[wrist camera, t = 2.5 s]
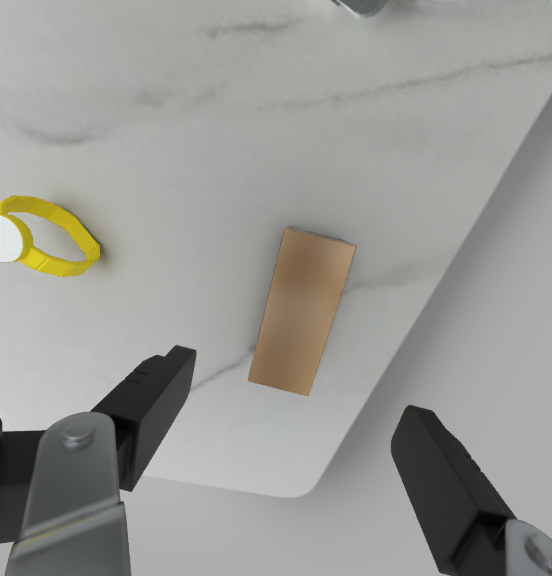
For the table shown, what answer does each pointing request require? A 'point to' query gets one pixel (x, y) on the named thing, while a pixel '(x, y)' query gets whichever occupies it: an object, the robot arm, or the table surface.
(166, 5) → the table surface
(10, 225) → the watch
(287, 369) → the eraser
